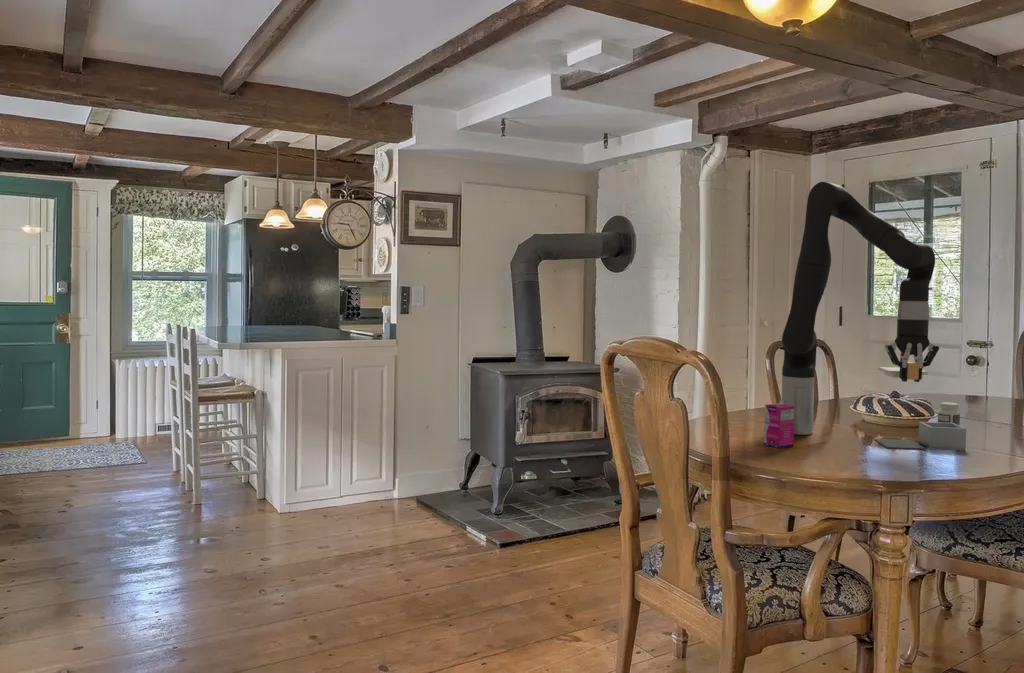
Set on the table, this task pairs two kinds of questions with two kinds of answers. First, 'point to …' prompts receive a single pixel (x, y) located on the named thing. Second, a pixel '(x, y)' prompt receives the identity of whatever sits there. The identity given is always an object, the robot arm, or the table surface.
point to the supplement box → (779, 425)
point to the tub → (942, 436)
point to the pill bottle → (949, 413)
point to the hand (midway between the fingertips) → (910, 381)
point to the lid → (911, 371)
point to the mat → (899, 444)
